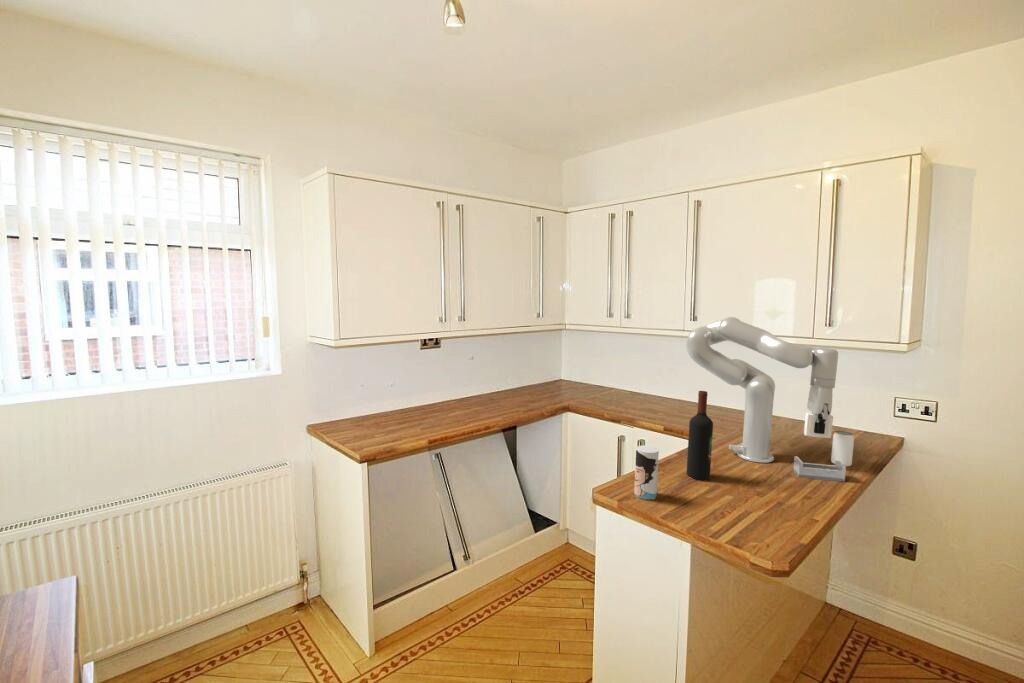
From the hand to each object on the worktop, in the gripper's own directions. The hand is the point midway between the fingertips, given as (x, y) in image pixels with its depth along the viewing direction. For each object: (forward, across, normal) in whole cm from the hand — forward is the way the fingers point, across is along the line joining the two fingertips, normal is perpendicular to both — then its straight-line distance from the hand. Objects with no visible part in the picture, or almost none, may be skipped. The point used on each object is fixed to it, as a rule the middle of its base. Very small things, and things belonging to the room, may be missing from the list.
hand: (817, 431), depth 174 cm
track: (+14, +9, -2) cm, 16 cm away
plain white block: (+2, 0, 0) cm, 2 cm away
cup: (+15, +43, -60) cm, 75 cm away
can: (+14, -7, +12) cm, 19 cm away
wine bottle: (+14, +22, -42) cm, 50 cm away
